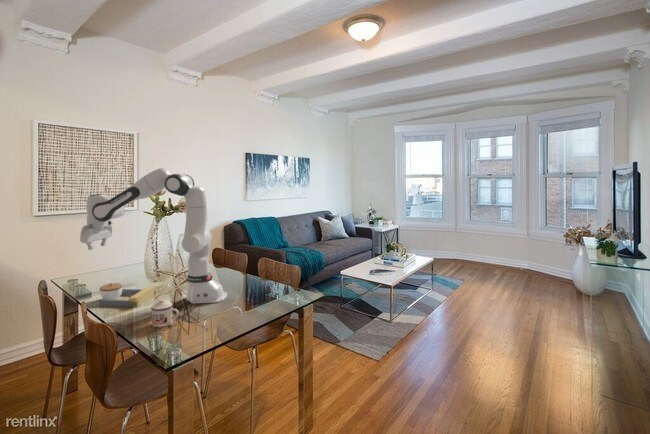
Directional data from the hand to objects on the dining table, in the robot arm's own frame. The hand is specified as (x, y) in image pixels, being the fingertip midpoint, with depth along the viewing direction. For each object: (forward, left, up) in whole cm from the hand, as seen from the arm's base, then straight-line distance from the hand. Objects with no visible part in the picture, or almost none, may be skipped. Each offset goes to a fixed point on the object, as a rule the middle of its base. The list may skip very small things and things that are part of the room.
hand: (97, 247), depth 186 cm
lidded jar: (-8, +2, -29) cm, 30 cm away
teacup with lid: (-53, +29, -29) cm, 67 cm away
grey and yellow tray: (-17, +2, -29) cm, 34 cm away
